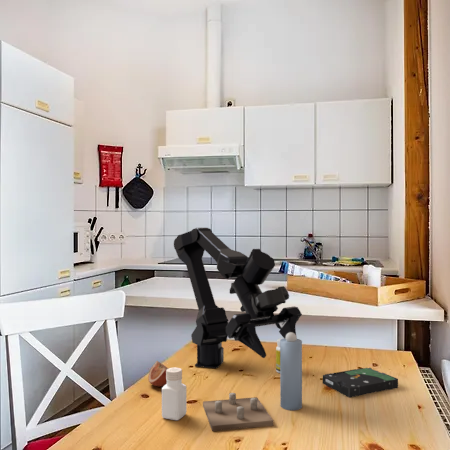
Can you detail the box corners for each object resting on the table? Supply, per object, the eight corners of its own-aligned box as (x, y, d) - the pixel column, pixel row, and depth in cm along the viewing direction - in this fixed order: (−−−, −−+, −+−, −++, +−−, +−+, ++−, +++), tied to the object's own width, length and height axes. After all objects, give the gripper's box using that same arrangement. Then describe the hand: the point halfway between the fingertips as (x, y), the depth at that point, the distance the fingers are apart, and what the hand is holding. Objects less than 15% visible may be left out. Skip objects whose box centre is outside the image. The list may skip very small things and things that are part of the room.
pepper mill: (278, 408, 97) (278, 334, 96) (282, 400, 101) (282, 329, 101) (300, 411, 95) (300, 335, 95) (303, 403, 100) (303, 330, 100)
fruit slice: (145, 381, 114) (145, 361, 114) (171, 377, 116) (171, 358, 116) (152, 392, 106) (152, 371, 106) (180, 388, 108) (180, 367, 108)
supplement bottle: (293, 375, 118) (293, 342, 118) (275, 374, 119) (274, 341, 119) (294, 369, 122) (294, 338, 122) (276, 368, 123) (276, 337, 123)
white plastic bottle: (187, 414, 94) (187, 368, 94) (177, 422, 90) (177, 374, 90) (170, 411, 96) (170, 365, 96) (160, 418, 92) (160, 371, 92)
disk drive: (349, 401, 102) (399, 389, 109) (349, 388, 102) (399, 378, 109) (321, 386, 112) (368, 376, 118) (321, 374, 112) (368, 365, 118)
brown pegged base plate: (202, 406, 98) (202, 392, 98) (257, 401, 100) (257, 388, 100) (212, 431, 86) (212, 415, 86) (273, 425, 89) (273, 410, 89)
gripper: (232, 278, 100) (263, 339, 91) (296, 272, 110) (330, 326, 101) (213, 308, 107) (241, 368, 97) (275, 301, 117) (305, 354, 108)
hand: (281, 353), depth 101 cm, fingers open, 9 cm apart
